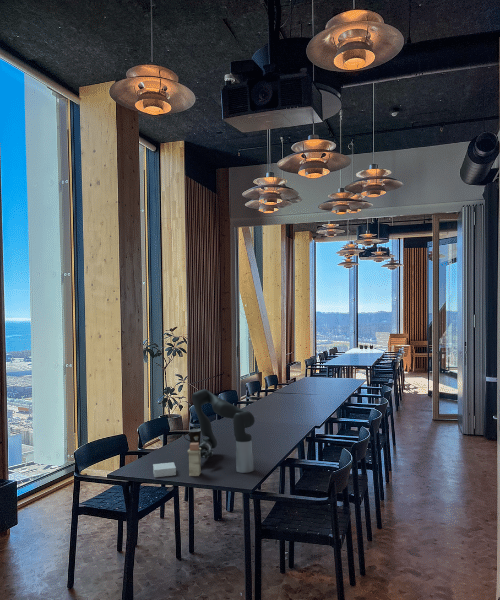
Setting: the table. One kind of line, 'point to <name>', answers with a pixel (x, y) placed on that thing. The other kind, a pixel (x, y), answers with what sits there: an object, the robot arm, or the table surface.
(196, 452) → the beige rectangular pillar
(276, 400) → the table surface
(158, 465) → the block
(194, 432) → the coffee mug
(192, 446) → the block
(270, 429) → the table surface
